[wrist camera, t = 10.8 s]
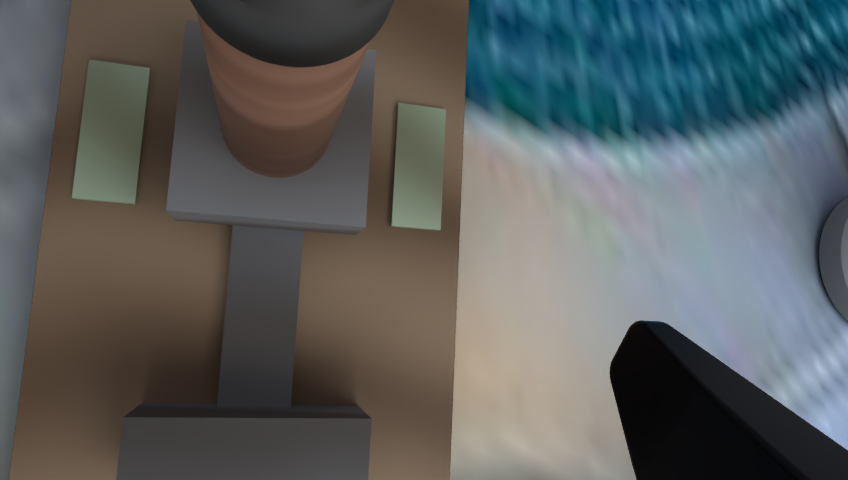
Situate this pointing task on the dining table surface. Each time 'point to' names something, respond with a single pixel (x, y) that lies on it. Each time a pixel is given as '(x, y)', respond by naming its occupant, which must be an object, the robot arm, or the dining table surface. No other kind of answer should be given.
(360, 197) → the handle
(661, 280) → the dining table surface
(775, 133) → the dining table surface
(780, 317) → the dining table surface
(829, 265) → the travel mug
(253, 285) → the press base
